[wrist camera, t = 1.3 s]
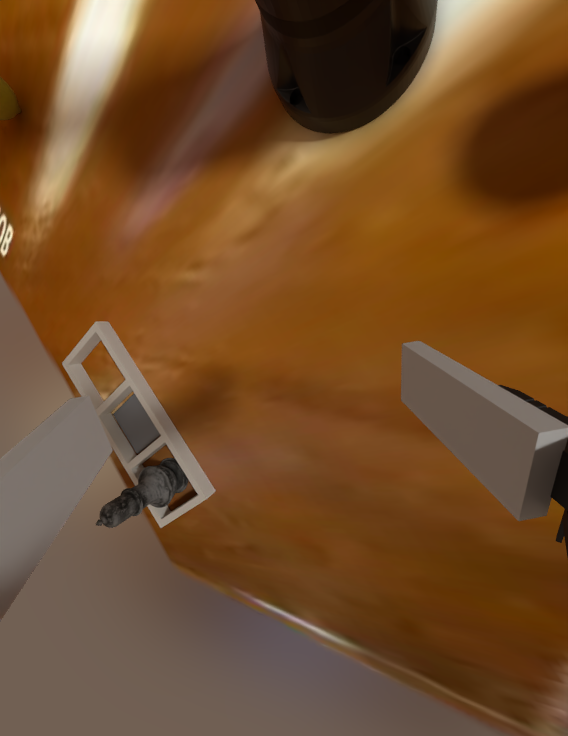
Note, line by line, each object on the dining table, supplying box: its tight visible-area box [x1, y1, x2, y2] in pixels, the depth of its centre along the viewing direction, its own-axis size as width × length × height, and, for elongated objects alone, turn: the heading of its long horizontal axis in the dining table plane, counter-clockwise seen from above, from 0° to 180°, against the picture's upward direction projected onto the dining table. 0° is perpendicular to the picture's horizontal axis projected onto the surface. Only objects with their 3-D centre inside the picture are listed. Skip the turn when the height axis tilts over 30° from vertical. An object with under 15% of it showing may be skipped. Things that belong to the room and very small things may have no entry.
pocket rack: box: [62, 322, 216, 528], centre depth 44 cm, size 29×10×2 cm, turn 38°
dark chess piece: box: [96, 458, 188, 528], centre depth 39 cm, size 6×6×12 cm
